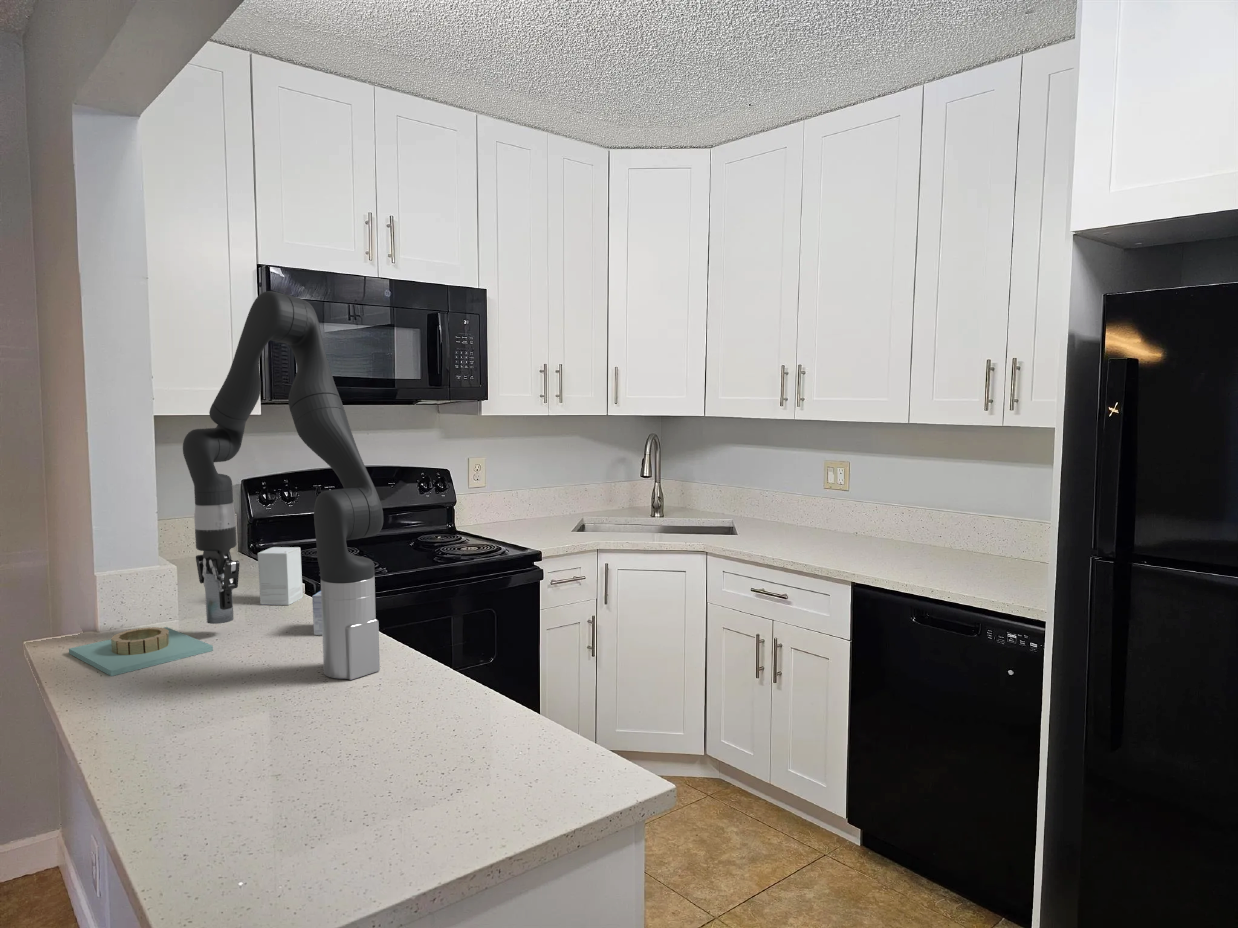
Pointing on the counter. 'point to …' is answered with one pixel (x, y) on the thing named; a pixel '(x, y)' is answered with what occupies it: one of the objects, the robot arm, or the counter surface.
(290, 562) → the supplement box
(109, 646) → the ring mat
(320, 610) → the medicine box
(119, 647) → the ring collar
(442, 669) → the counter surface
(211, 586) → the cylinder
